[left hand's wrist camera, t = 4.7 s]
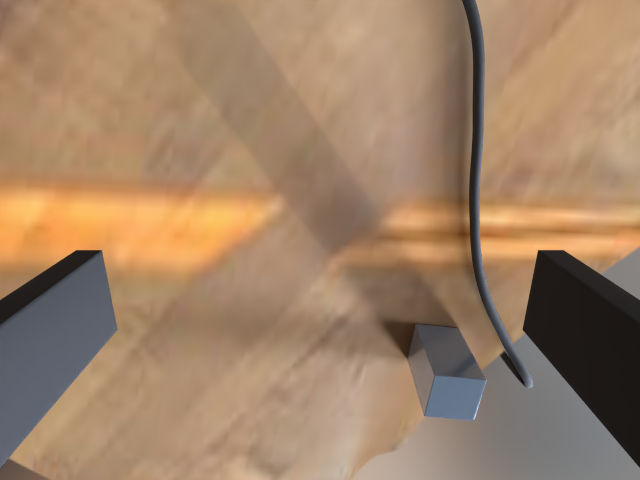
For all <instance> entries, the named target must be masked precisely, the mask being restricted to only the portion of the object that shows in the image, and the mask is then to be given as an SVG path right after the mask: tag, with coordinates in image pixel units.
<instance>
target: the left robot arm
mask: <svg viewBox="0 0 640 480" xmlns="http://www.w3.org/2000/svg"><path fill="white" fill-rule="evenodd" d="M462 2H463V4H464V7H465V11H466V14H467V18H468V22H469V27H470V32H471V39H472V48H473V137H472V154H471V168H470V185H469V212H470V241H471V253H472V261H473V267H474V273H475V277H476V281H477V285H478V289H479V292H480V296H481V299H482V301H483V304H484V307H485V309H486V311H487V313H488V316H489V318H490V320H491V322H492V324H493V326H494V328H495V330H496V332H497V334H498V336H499V338H500V340H501V342H502V344H503V346H504V348H505V350H506V351H507V353H508V355H509V356H508V355H507V353H506V352H505V351H503V352H502V353H501V354H500V357H501V358H502V360H503V361H504V362H505V364H506V365H507V366H508V368H509V369H510V370H511V371H512V373H513V374H514V375H515V376H516V378H517V379H518V380H519V381H520V382H521V383H522V384H523V385H524V386H525V387H526V388H531V387H532V386H533V380H532V378H531V376H530V374H529V372H528V371H527V369H526V367H525V365H524V364H523V362H522V360H521V359H520V357H519V355H518V353H517V352H516V350H515V348H514V346H513V344H512V342H511V340H510V338H509V336H508V334H507V332H506V330H505V328H504V326H503V324H502V322H501V320H500V318H499V316H498V313H497V311H496V309H495V307H494V304H493V302H492V299H491V296H490V293H489V290H488V287H487V283H486V279H485V274H484V269H483V264H482V257H481V246H480V220H479V187H480V171H481V159H482V146H483V125H484V69H485V61H484V42H483V33H482V26H481V21H480V16H479V12H478V8H477V4H476V1H475V0H462ZM116 331H117V325H116V320H115V315H114V310H113V305H112V300H111V295H110V290H109V285H108V279H107V274H106V269H105V264H104V259H103V254H102V250H76V251H75V252H73V253H72V254H70V255H68V256H67V257H65V258H64V259H62V260H61V261H59V262H58V263H56V264H55V265H53V266H52V267H50V268H49V269H47V270H46V271H44V272H43V273H41V274H40V275H38V276H36V277H35V278H33V279H32V280H30V281H29V282H27V283H26V284H24V285H23V286H21V287H20V288H18V289H17V290H15V291H14V292H12V293H11V294H9V295H7V296H6V297H4V298H3V299H1V300H0V467H1V466H2V465H3V464H4V463H5V461H6V460H7V459H8V458H9V457H10V456H11V454H12V453H13V452H14V451H15V450H16V449H17V447H18V446H19V445H20V444H21V443H22V441H23V440H24V439H25V438H26V437H27V436H28V434H29V433H30V432H31V431H32V430H33V428H34V427H35V426H36V425H37V424H38V423H39V421H40V420H41V419H42V418H43V417H44V415H45V414H46V413H47V412H48V411H49V410H50V408H51V407H52V406H53V405H54V404H55V403H56V401H57V400H58V399H59V398H60V397H61V395H62V394H63V393H64V392H65V391H66V390H67V388H68V387H69V386H70V385H71V384H72V382H73V381H74V380H75V379H76V378H77V377H78V375H79V374H80V373H81V372H82V371H83V370H84V368H85V367H86V366H87V365H88V364H89V362H90V361H91V360H92V359H93V358H94V357H95V355H96V354H97V353H98V352H99V351H100V349H101V348H102V347H103V346H104V345H105V344H106V342H107V341H108V340H109V339H110V338H111V336H112V335H113V334H114V333H115V332H116ZM523 331H524V332H525V333H526V334H527V335H528V336H529V338H530V339H531V340H532V341H533V342H534V344H535V345H536V346H537V347H538V348H539V349H540V351H541V352H542V353H543V354H544V355H545V357H546V358H547V359H548V360H549V361H550V362H551V364H552V365H553V366H554V367H555V368H556V370H557V371H558V372H559V373H560V374H561V375H562V377H563V378H564V379H565V380H566V381H567V382H568V384H569V385H570V386H571V387H572V388H573V390H574V391H575V392H576V393H577V394H578V395H579V397H580V398H581V399H582V400H583V401H584V402H585V404H586V405H587V406H588V407H589V408H590V410H591V411H592V412H593V413H594V414H595V415H596V417H597V418H598V419H599V420H600V421H601V422H602V424H603V425H604V426H605V427H606V428H607V430H608V431H609V432H610V433H611V434H612V435H613V437H614V438H615V439H616V440H617V441H618V443H619V444H620V445H621V446H622V447H623V448H624V450H625V451H626V452H627V453H628V454H629V456H630V457H631V458H632V459H633V460H634V461H635V463H636V464H637V465H638V466H639V467H640V300H639V299H637V298H636V297H634V296H633V295H631V294H629V293H628V292H626V291H625V290H623V289H622V288H620V287H619V286H617V285H616V284H614V283H613V282H611V281H610V280H608V279H607V278H605V277H603V276H602V275H600V274H599V273H597V272H596V271H594V270H593V269H591V268H590V267H588V266H587V265H585V264H584V263H582V262H581V261H579V260H578V259H576V258H575V257H573V256H572V255H570V254H568V253H567V252H565V251H564V250H538V254H537V259H536V264H535V269H534V274H533V279H532V285H531V290H530V295H529V300H528V305H527V310H526V315H525V320H524V325H523Z"/></svg>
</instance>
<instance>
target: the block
mask: <svg viewBox="0 0 640 480" xmlns="http://www.w3.org/2000/svg"><path fill="white" fill-rule="evenodd" d="M407 360H408V363H409V366H410V370H411V373H412V377H413V380H414V383H415V387H416V390H417V393H418V397H419V400H420V404H421V407H422V410H423V414H424V416H428V417H439V418H449V419H460V420H471V421H473V420H474V418H475V415H476V412H477V409H478V406H479V402H480V399H481V396H482V393H483V390H484V387H485V384H486V378H485V376H484V375H483V373H482V371H481V369H480V367H479V365H478V363H477V362H476V360H475V358H474V356H473V354H472V352H471V350H470V349H469V347H468V345H467V343H466V341H465V339H464V337H463V336H462V334H461V332H460V330H459V328H454V327H443V326H433V325H423V324H415V328H414V333H413V337H412V342H411V346H410V351H409V355H408V359H407Z"/></svg>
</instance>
